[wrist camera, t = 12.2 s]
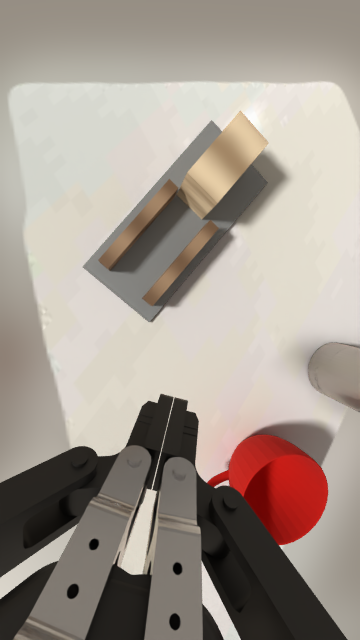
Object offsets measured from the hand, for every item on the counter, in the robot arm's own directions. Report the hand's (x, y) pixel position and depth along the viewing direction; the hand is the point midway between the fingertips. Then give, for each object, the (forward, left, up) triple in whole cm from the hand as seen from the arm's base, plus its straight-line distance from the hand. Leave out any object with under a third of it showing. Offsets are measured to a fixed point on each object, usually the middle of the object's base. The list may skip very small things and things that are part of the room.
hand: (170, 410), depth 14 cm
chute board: (-9, -15, -26) cm, 31 cm away
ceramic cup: (-12, +24, -26) cm, 37 cm away
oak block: (-14, -20, -25) cm, 35 cm away
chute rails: (-5, -12, -26) cm, 29 cm away
